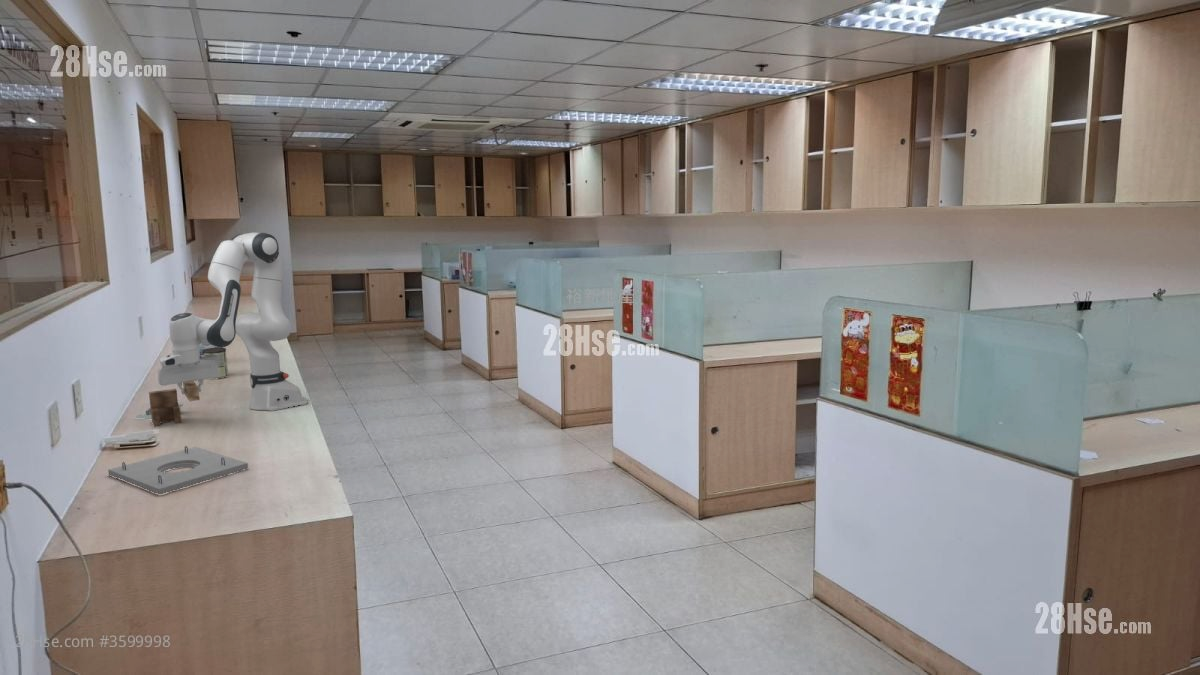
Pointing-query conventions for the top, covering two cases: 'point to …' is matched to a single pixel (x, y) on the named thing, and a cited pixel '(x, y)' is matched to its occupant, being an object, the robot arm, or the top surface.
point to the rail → (191, 391)
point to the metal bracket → (148, 413)
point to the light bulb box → (206, 347)
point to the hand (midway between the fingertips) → (191, 392)
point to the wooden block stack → (164, 407)
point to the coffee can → (219, 360)
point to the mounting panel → (157, 481)
